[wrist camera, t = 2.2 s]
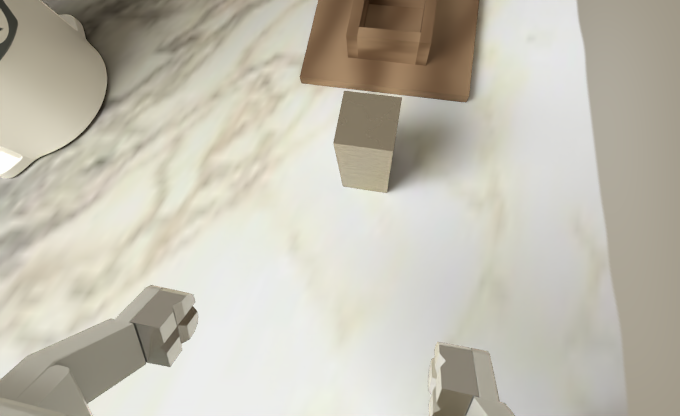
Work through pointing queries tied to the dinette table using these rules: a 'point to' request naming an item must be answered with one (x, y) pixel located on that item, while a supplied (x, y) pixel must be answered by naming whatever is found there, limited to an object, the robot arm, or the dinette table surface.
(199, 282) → the dinette table surface
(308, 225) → the dinette table surface
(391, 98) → the block
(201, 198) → the dinette table surface
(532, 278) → the dinette table surface
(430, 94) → the wooden slotted tray
